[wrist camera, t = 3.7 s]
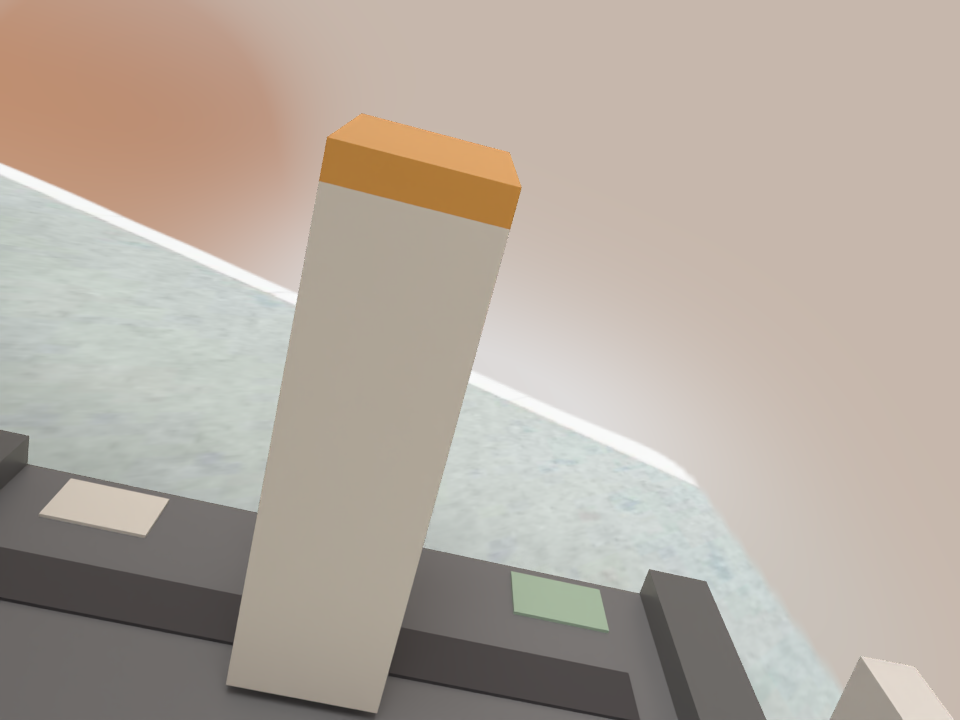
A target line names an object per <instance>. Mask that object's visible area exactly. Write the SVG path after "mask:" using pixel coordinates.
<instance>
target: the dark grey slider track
mask: <svg viewBox="0 0 960 720" xmlns="http://www.w3.org/2000/svg"><path fill="white" fill-rule="evenodd" d="M28 446H29V436H26V435H22V434H17V433H12V432H8V431H3V430H0V720H766V718H765V716H764V713H763V711H762V709H761V707H760V704H759V702H758V700H757V697H756V695H755V693H754V690H753V688H752V686H751V684H750V681H749V679H748V677H747V674H746V672H745V670H744V667H743V665H742V663H741V661H740V658H739V656H738V654H737V651H736V649H735V647H734V644H733V642H732V640H731V638H730V635H729V633H728V631H727V628H726V626H725V624H724V621H723V619H722V617H721V614H720V612H719V610H718V608H717V605H716V603H715V601H714V598H713V596H712V594H711V591H710V589H709V587H708V585H707V582H706V581H701V580H697V579H692V578H687V577H683V576H678V575H673V574H669V573H664V572H659V571H655V570H650V569H649V571H648V574H647V576H646V579H645V581H644V584H643V586H642V589H641V591H640V594H639V593H634V592H630V591H625V590H620V589H615V588H611V587H606V586H601V585H596V584H592V583H587V582H582V581H578V580H573V579H568V578H563V577H559V576H554V575H549V574H544V573H540V572H535V571H530V570H526V569H521V568H516V567H511V566H507V565H502V564H497V563H492V562H488V561H483V560H478V559H474V558H469V557H464V556H459V555H455V554H450V553H445V552H440V551H436V550H431V549H426V548H422V552H421V556H420V559H419V563H418V566H417V570H416V574H415V577H414V581H413V585H412V588H411V592H410V596H409V599H408V603H407V607H406V610H405V614H404V617H403V621H402V625H401V628H400V632H399V636H398V639H397V643H396V647H395V650H394V654H393V657H392V661H391V665H390V668H389V672H388V676H387V679H386V683H385V687H384V690H383V694H382V697H381V701H380V705H379V708H378V712H377V713H372V712H367V711H362V710H357V709H351V708H346V707H341V706H335V705H330V704H325V703H320V702H314V701H309V700H304V699H298V698H293V697H288V696H283V695H277V694H272V693H267V692H261V691H256V690H251V689H246V688H240V687H235V686H230V685H226V681H227V675H228V670H229V664H230V659H231V654H232V648H233V643H234V637H235V632H236V627H237V621H238V616H239V610H240V605H241V600H242V594H243V589H244V583H245V578H246V573H247V567H248V562H249V556H250V551H251V546H252V540H253V535H254V529H255V524H256V519H257V513H256V512H251V511H246V510H242V509H237V508H232V507H228V506H223V505H218V504H213V503H209V502H204V501H199V500H194V499H190V498H185V497H180V496H176V495H171V494H166V493H161V492H157V491H152V490H147V489H142V488H138V487H133V486H128V485H124V484H119V483H114V482H109V481H105V480H100V479H95V478H90V477H86V476H81V475H76V474H71V473H67V472H62V471H57V470H53V469H48V468H43V467H38V466H34V465H29V464H27V461H28Z"/></svg>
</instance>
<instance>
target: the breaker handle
mask: <svg viewBox="0 0 960 720" xmlns="http://www.w3.org/2000/svg"><path fill="white" fill-rule="evenodd" d="M520 192H521V185H520V182H519V179H518V176H517V173H516V170H515V167H514V164H513V161H512V158H511V155H510V153H509V152H506V151H502V150H498V149H495V148H491V147H487V146H483V145H479V144H475V143H472V142H467V141H464V140H461V139H457V138H453V137H449V136H445V135H441V134H438V133H434V132H430V131H426V130H423V129H419V128H415V127H411V126H408V125H403V124H400V123H396V122H392V121H389V120H385V119H380V118H377V117H374V116H370V115H366V114H360V115H359V116H357V117H356V118H354V119H353V120H351V121H350V122H349V123H347V124H346V125H344V126H343V127H341V128H340V129H338V130H337V131H335V132H334V133H332V134H331V135H330V136H328V137H327V141H326V146H325V152H324V157H323V163H322V168H321V173H320V179H319V184H318V189H317V195H316V201H315V206H314V211H313V216H312V222H311V227H310V233H309V238H308V244H307V249H306V255H305V260H304V265H303V270H302V276H301V282H300V287H299V292H298V297H297V303H296V308H295V314H294V319H293V324H292V330H291V335H290V341H289V346H288V351H287V357H286V362H285V368H284V373H283V378H282V384H281V389H280V395H279V400H278V405H277V411H276V416H275V421H274V427H273V432H272V438H271V443H270V448H269V454H268V459H267V465H266V470H265V475H264V481H263V486H262V492H261V497H260V502H259V508H258V513H257V519H256V524H255V529H254V535H253V540H252V546H251V551H250V556H249V562H248V567H247V573H246V578H245V583H244V589H243V594H242V600H241V605H240V610H239V616H238V621H237V627H236V632H235V637H234V643H233V648H232V654H231V659H230V664H229V670H228V675H227V681H226V685H230V686H235V687H240V688H246V689H251V690H256V691H261V692H267V693H272V694H277V695H283V696H288V697H293V698H298V699H304V700H309V701H314V702H320V703H325V704H330V705H335V706H341V707H346V708H351V709H357V710H362V711H367V712H372V713H377V712H378V708H379V705H380V701H381V697H382V694H383V690H384V687H385V683H386V679H387V676H388V672H389V668H390V665H391V661H392V657H393V654H394V650H395V647H396V643H397V639H398V636H399V632H400V628H401V625H402V621H403V617H404V614H405V610H406V607H407V603H408V599H409V596H410V592H411V588H412V585H413V581H414V577H415V574H416V570H417V566H418V563H419V559H420V556H421V552H422V548H423V545H424V541H425V537H426V534H427V530H428V526H429V523H430V519H431V516H432V512H433V508H434V505H435V501H436V497H437V494H438V490H439V486H440V483H441V479H442V475H443V472H444V468H445V465H446V461H447V457H448V454H449V450H450V446H451V443H452V439H453V435H454V432H455V428H456V425H457V421H458V417H459V414H460V410H461V406H462V403H463V399H464V395H465V392H466V388H467V385H468V381H469V377H470V374H471V370H472V366H473V363H474V359H475V355H476V352H477V348H478V344H479V341H480V337H481V333H482V330H483V326H484V323H485V319H486V315H487V311H488V308H489V304H490V300H491V297H492V293H493V290H494V286H495V283H496V279H497V275H498V272H499V268H500V264H501V261H502V257H503V254H504V250H505V246H506V243H507V239H508V235H509V232H510V228H511V224H512V221H513V217H514V213H515V210H516V206H517V203H518V199H519V195H520Z"/></svg>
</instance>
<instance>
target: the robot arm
mask: <svg viewBox="0 0 960 720" xmlns="http://www.w3.org/2000/svg"><path fill="white" fill-rule="evenodd" d="M830 720H954V719H953V718H952V716H951V715H950V714H949V712H948V711H947V709H946V708H945V707H944V706H943V704H942V703H941V702H940V700H939V699H938V698H937V696H936V695H935V693H934V692H933V691H932V689H931V688H930V687H929V685H928V684H927V683H926V681H925V680H924V679H923V677H922V676H921V675H920V673H919V672H918V671H917V669H916V668H915V667H914V666H909V665H904V664H899V663H894V662H889V661H883V660H878V659H873V658H868V657H863V656H860V659H859V660H858V662H857V665H856V667H855V669H854V671H853V673H852V675H851V677H850V679H849V681H848V683H847V685H846V687H845V689H844V691H843V693H842V695H841V698H840V700H839V702H838V704H837V706H836V708H835V710H834V712H833V714H832V716H831V718H830Z"/></svg>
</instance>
